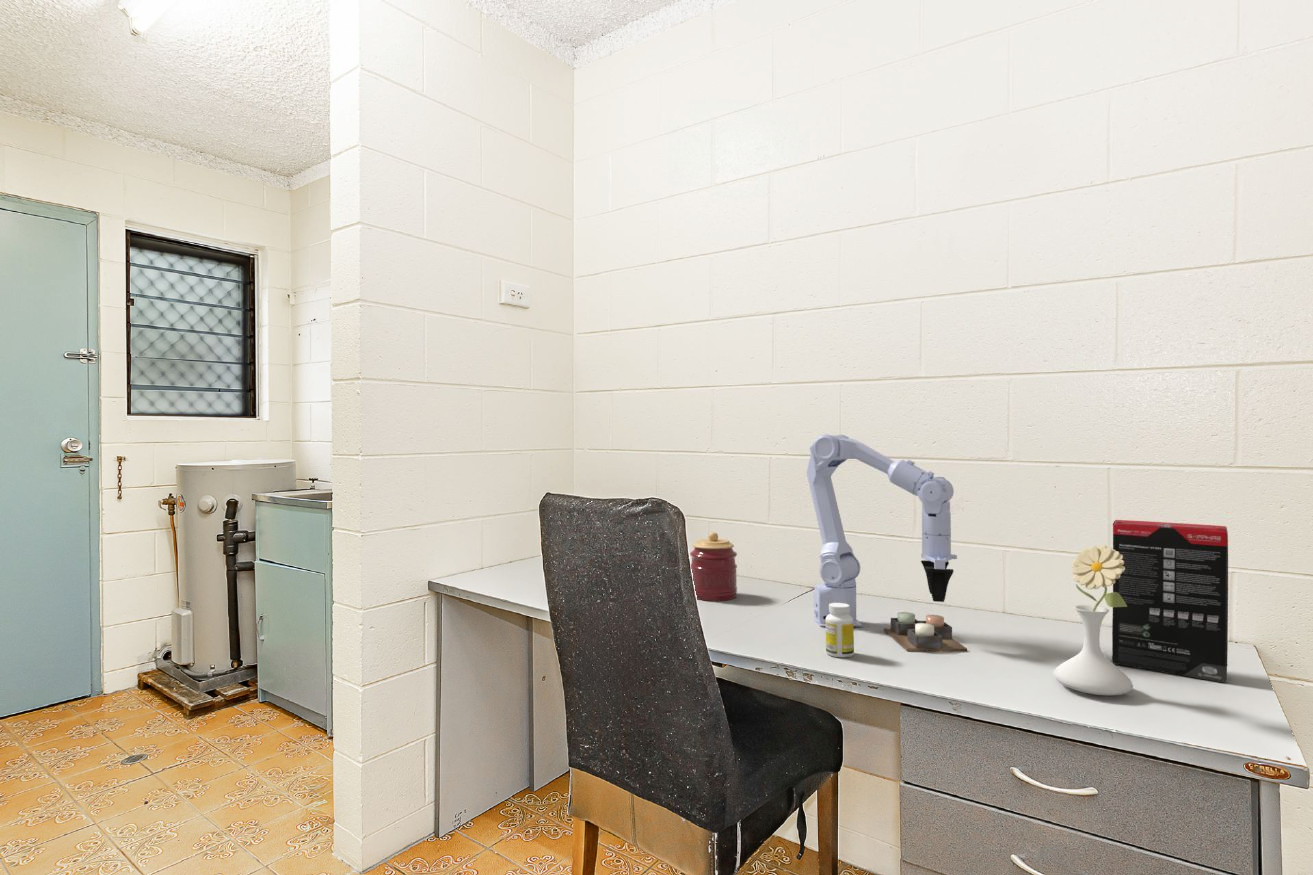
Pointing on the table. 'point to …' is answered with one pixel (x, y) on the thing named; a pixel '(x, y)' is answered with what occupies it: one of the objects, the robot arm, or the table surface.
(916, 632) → the cream button
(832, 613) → the supplement bottle
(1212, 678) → the graphics card box
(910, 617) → the sage button
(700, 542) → the canister
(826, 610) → the robot arm
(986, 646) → the table surface
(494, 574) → the table surface
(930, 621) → the terracotta button
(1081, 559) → the flower in vase
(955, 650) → the button panel
